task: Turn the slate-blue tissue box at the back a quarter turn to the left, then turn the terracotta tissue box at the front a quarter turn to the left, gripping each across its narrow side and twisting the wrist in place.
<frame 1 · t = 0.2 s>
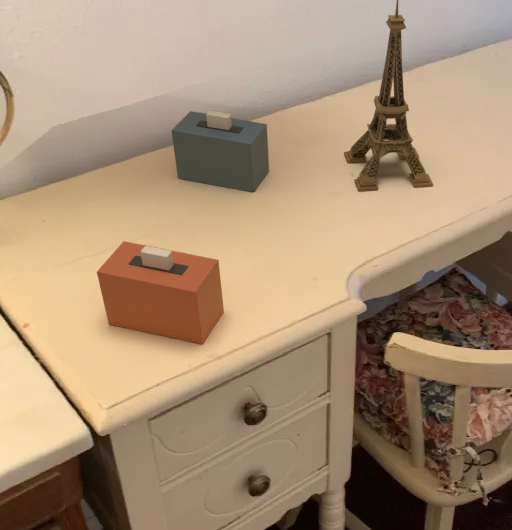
terracotta tissue box: (133, 310, 93), on the table
slate tissue box: (196, 169, 115), on the table
eiffel tower: (387, 170, 118), on the table
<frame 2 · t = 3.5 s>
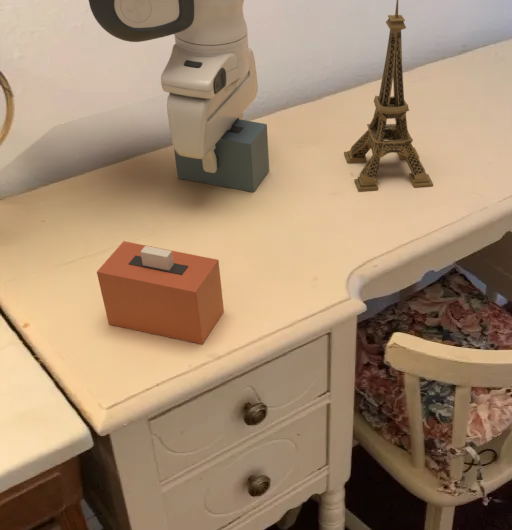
hand: (222, 157, 113), 3 cm above the table, tool pointing down, fingers closed on slate tissue box, 6 cm apart
slate tissue box: (197, 169, 115), on the table, touching gripper
everything else where it was.
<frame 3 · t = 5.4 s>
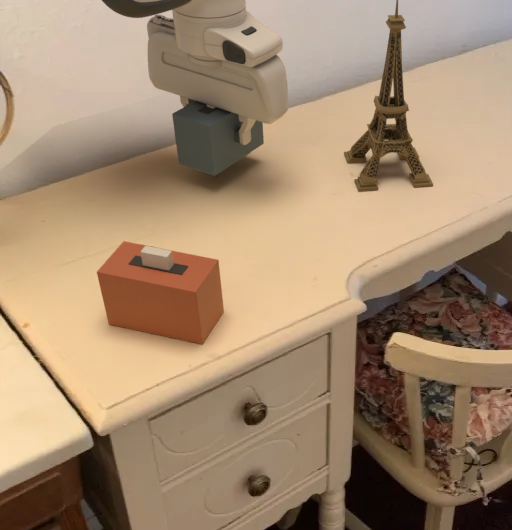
hand: (221, 135, 112), 5 cm above the table, tool pointing down, fingers closed on slate tissue box, 6 cm apart
slate tissue box: (203, 165, 111), point 3 cm above the table, touching gripper
everything else where it was.
when the fingers open (2 cm above the table, at t = 7.2 s): slate tissue box stays where it is, on the table.
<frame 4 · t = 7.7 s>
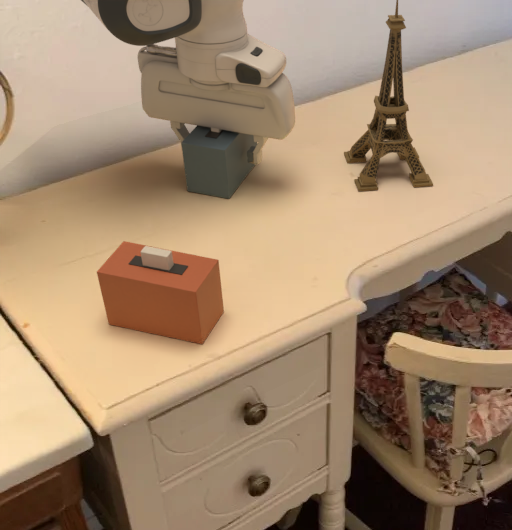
hand: (222, 156, 113), 3 cm above the table, tool pointing down, fingers open, 8 cm apart
slate tissue box: (212, 189, 112), on the table
everything else where it was.
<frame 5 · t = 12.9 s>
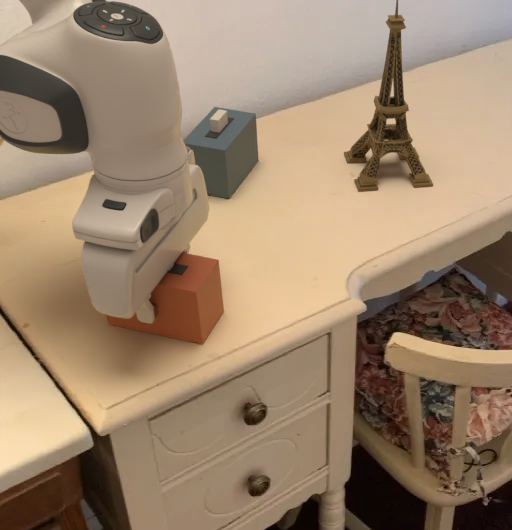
hand: (163, 298, 90), 3 cm above the table, tool pointing down, fingers closed on terracotta tissue box, 6 cm apart
terracotta tissue box: (133, 310, 93), on the table, touching gripper
everything else where it was.
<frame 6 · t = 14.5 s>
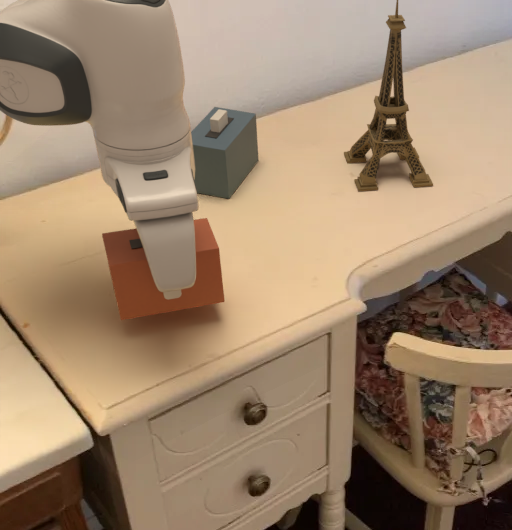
hand: (165, 275, 89), 5 cm above the table, tool pointing down, fingers closed on terracotta tissue box, 6 cm apart
terracotta tissue box: (131, 301, 90), point 3 cm above the table, touching gripper
everything else where it was.
when the fingers open (2 cm above the table, at t = 16.5 s): terracotta tissue box stays where it is, on the table.
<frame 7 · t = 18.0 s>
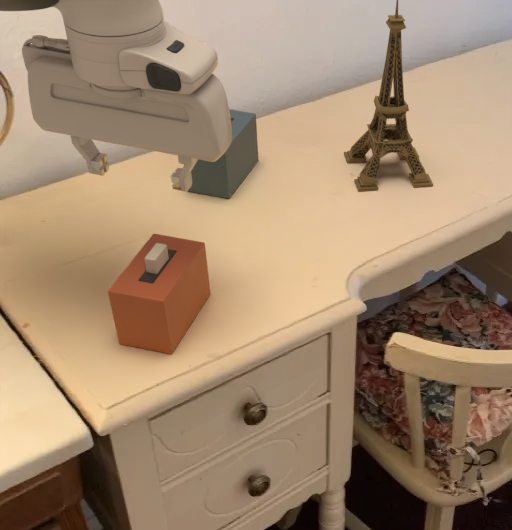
hand: (140, 180, 88), 13 cm above the table, tool pointing down, fingers open, 8 cm apart
terracotta tissue box: (151, 340, 89), on the table
everything else where it was.
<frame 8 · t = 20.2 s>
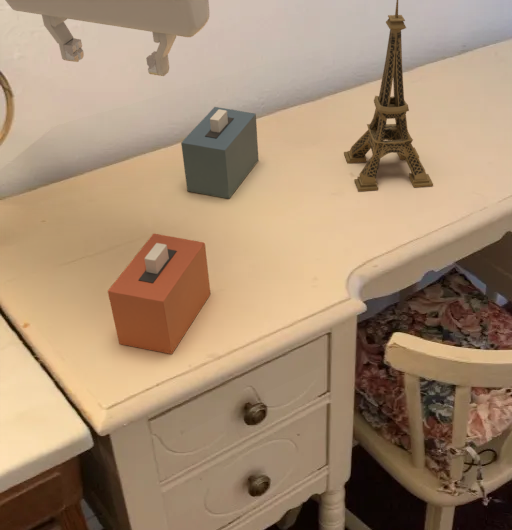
hand: (116, 66, 84), 23 cm above the table, tool pointing down, fingers open, 8 cm apart
nothing on the table moved.
at the end: slate tissue box 0.2 cm from the target spot, on the table; terracotta tissue box 0.1 cm from the target spot, on the table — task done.
